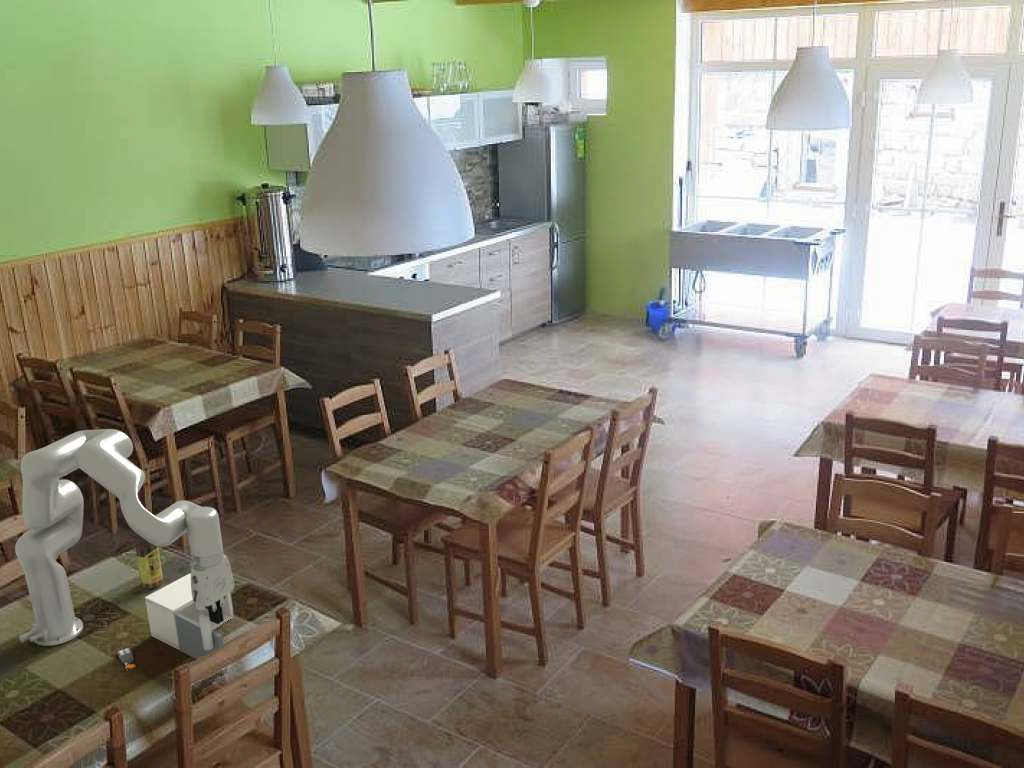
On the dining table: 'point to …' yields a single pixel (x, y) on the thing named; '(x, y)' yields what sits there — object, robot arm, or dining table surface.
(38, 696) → the dining table surface
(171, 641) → the case
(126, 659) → the key chain
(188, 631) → the side door
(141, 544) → the sauce bottle
